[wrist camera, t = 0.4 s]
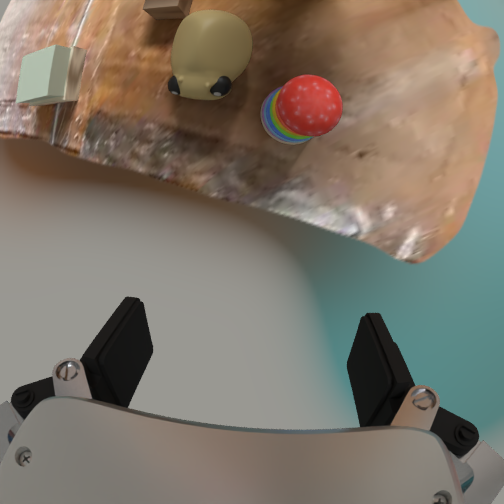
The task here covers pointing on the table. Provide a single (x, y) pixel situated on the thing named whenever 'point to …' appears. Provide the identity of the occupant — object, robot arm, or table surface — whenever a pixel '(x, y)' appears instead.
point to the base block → (69, 79)
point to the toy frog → (209, 54)
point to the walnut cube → (167, 8)
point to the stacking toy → (301, 109)
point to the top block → (43, 74)
